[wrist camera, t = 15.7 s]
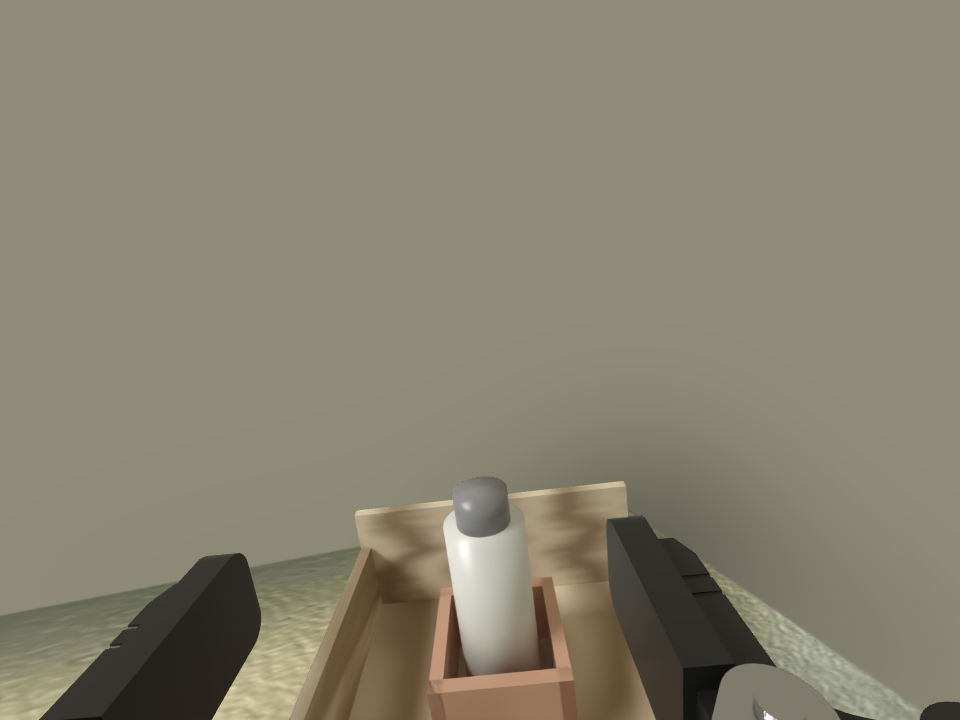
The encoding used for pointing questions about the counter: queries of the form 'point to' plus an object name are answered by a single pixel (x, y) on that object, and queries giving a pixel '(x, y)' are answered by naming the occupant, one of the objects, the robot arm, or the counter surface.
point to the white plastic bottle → (491, 579)
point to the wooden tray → (435, 630)
